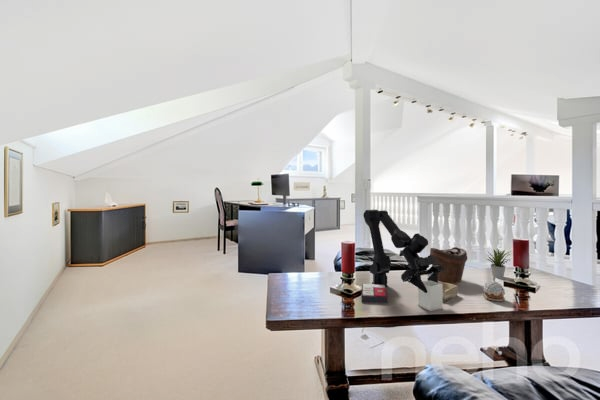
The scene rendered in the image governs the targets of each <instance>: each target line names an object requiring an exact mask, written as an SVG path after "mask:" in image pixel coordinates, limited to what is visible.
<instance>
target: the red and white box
mask: <svg viewBox="0 0 600 400" xmlns="http://www.w3.org/2000/svg"><path fill="white" fill-rule="evenodd" d="M360 299H361V302H362V303H375V304H376V303H378V304H388V291H387V286H385V285H375V284H372V283H363V284H361V298H360Z"/></svg>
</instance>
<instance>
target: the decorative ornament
mask: <svg viewBox="0 0 600 400" xmlns="http://www.w3.org/2000/svg"><path fill="white" fill-rule="evenodd" d="M483 293H484V294H483V298H484V299H487V300H490V301H494V302H503V301H504V302H505V300H506V299H505V298H506V297H504V295H505V294H506V292H505V288H504V287H503V285H502V284H501V283H500V282H498V281H496V277H495V265H493V276H492V280H490V281H488V282H485V283H484V286H483Z"/></svg>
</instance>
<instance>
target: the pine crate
mask: <svg viewBox="0 0 600 400" xmlns="http://www.w3.org/2000/svg"><path fill="white" fill-rule="evenodd" d="M438 283H439V284H442V285H443V293H442V302H448V301H449V300H451V299H453V298H455V297H457V296H458V284H457V285H456V284H453V283H444V282H440V281H438Z"/></svg>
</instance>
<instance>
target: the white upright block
mask: <svg viewBox="0 0 600 400" xmlns="http://www.w3.org/2000/svg"><path fill="white" fill-rule="evenodd" d="M422 282H423V284H424V285H425V287H426V289H427V293H425V292H423V291H422V290H421V289H419V288H418V287H417V289H418V293H417V295H418V296H417V297H418V304H417V305H418V307H420V308H422V309H425V310H427V311H428V312H434V311H438V310H443V301H442V293H443V285H442V284H439V283H436V282H434V281H431V280H429V281H428V280H424V281H423V280H422Z"/></svg>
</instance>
